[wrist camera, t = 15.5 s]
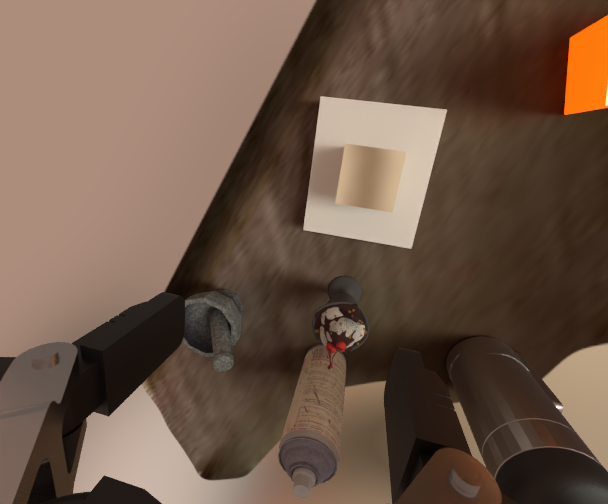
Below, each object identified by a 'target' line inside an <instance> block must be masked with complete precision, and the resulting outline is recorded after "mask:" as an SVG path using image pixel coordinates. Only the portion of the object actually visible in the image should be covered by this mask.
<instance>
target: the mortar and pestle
mask: <svg viewBox="0 0 608 504" xmlns="http://www.w3.org/2000/svg"><path fill="white" fill-rule="evenodd" d="M242 315H243V303H242V302H241V300H240V299H239V297H238V296H237V294H235V293H233V292H231V291H229V290H227V289H223V290H216V291H208V292H202V293H196V294H194V295H192V296H190V297H189V298H188V299H186V300H185V333H184V337H183V340H182V341H183V343H184V344H185V346H186V347H187V348H188V349H190V350H192V351H194V352H196V353H198V354H200V355H202V356H204V357H214V358H213V360H212V365H213V369H215V370H216V371H217V372H225V371H227V370H230V369H231V368H232V366H233V365H234V357H233V356H232V355H231V348H232V347H233V346H234V345H235V344H236V342H237V341H238V340H239V338H240V335H241V333H242Z"/></svg>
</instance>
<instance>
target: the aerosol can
mask: <svg viewBox="0 0 608 504" xmlns="http://www.w3.org/2000/svg"><path fill="white" fill-rule="evenodd" d="M334 354H335V353H331V363H332V357H333V355H334ZM329 365H330V360H329V353H328V351H327V350H326V346H325V345H323V344H318V345H314V346H313V347H311V348H310V349H309V350H308V352H307V353H306V356H305V359H304V363H303V366H302V370H301V373H300V376H299V380H298V383H297V387H296V390H295V393H294V397H293V400H292V404H291V407H290V411H289V414H288V417H287V421H286V424H285V428H284V431H283V435H282V438H281V442H280V446H279V454H278V457H279V462H280V464H281V466H282V468H283V469H284V470H285V471H286V472H287V473H288V475H289V476H290V477H291V479H292V481H294V488H293V491H294V493H295V494H296V495H297V496H299V497H302V498H306V497H308V496H309V495H310V492H311V488H312V487H314V486H316V485H319V484H321V483H324V482H326V481H328V480H330V479H331V478H332V477H333V476H334V475H335V473H336V470H337V465H338V462H339V456H340V443H341V442H340V441H341V430H342V417H343V404H344V391H345V379H346V366H347V365H346V358H345V356H344V354H343V353H342V352H337V353H336V354H335V356H334V358H333V368H331V369H328V366H329Z"/></svg>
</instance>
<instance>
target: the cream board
mask: <svg viewBox="0 0 608 504" xmlns="http://www.w3.org/2000/svg"><path fill="white" fill-rule="evenodd" d="M446 112H447V110H445V109H436V108H426V107H417V106H408V105H398V104H389V103H379V102H370V101H360V100H351V99H342V98H332V97H323V96H321V98H320V105H319V113H318V121H317V128H316V136H315V144H314V151H313V159H312V166H311V174H310V182H309V189H308V197H307V205H306V212H305V220H304V228H303V230H307V231H312V232H318V233H324V234H330V235H335V236H341V237H347V238H353V239H359V240H364V241H370V242H376V243H382V244H387V245H393V246H399V247H405V248H410V249H411V248H412V244H413V240H414V236H415V233H416V229H417V225H418V221H419V217H420V213H421V209H422V205H423V202H424V198H425V194H426V190H427V186H428V182H429V178H430V174H431V171H432V167H433V163H434V159H435V155H436V151H437V147H438V143H439V140H440V136H441V132H442V128H443V124H444V120H445V116H446ZM345 144H352V145H360V146H367V147H374V148H382V149H389V150H397V151H404V152H406V157H405V161H404V165H403V170H402V174H401V178H400V182H399V187H398V191H397V195H396V200H395V204H394V208H393V212H385V211H379V210H373V209H367V208H361V207H355V206H349V205H343V204H336V203H335V201H336V195H337V189H338V183H339V177H340V171H341V165H342V159H343V153H344V147H345Z"/></svg>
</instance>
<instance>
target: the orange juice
mask: <svg viewBox="0 0 608 504" xmlns="http://www.w3.org/2000/svg"><path fill="white" fill-rule="evenodd" d="M602 108H608V15H607V16H606V17H604V18H602V19H601V20H599V21H597V22H596V23H594V24H592V25H591V26H589V27H587V28H585V29H584V30H582V31H580V32H579V33H577V34H575V35H574V36H572V37H570V43H569V56H568V69H567V83H566V96H565V109H564V115H567V114H573V113H579V112H585V111H591V110H597V109H602Z"/></svg>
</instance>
